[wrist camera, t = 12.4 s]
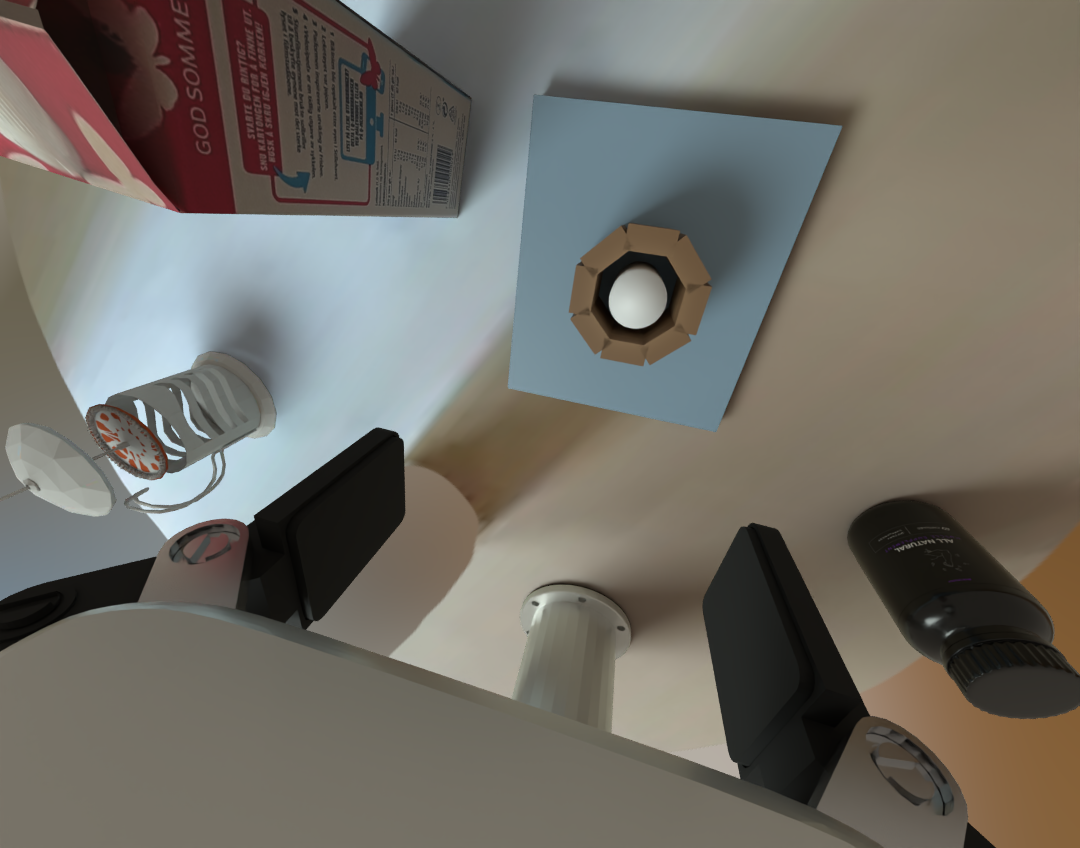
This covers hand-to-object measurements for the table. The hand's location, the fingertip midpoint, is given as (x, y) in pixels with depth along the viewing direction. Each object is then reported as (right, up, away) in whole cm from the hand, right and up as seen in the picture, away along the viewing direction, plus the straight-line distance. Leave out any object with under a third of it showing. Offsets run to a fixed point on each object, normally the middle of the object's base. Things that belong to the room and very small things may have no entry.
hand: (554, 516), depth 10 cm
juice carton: (-8, +21, +15) cm, 27 cm away
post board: (+6, +12, +15) cm, 21 cm away
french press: (-32, +5, +29) cm, 43 cm away
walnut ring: (+6, +11, +14) cm, 19 cm away
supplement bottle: (+28, -6, +20) cm, 34 cm away
